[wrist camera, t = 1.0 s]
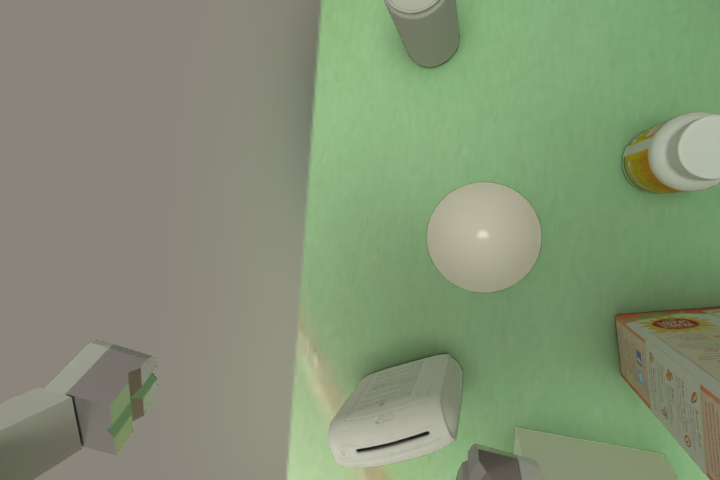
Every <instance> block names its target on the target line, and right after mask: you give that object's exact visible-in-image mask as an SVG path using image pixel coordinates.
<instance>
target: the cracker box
mask: <svg viewBox="0 0 720 480" xmlns="http://www.w3.org/2000/svg"><path fill="white" fill-rule="evenodd" d="M616 329H617V338H618V346H619V357H620V366H621V376H622V377H623V378H624V379H625V380H626V382H627V383H628V384H629V385H630V387H631V388H632V389H633V390H634V391H635V392H636V394H637V395H638V396H639V397H640V398H641V400H642V401H643V402H644V403H645V404H646V405H647V407H648V408H649V409H650V410H651V411H652V412H653V414H654V415H655V416H656V417H657V418H658V419H659V420H660V422H661V423H662V424H663V425H664V426H665V428H666V429H667V430H668V431H669V432H670V433H671V435H672V436H673V437H674V438H675V439H676V440H677V442H678V443H679V444H680V445H681V446H682V448H683V449H684V450H685V451H686V452H687V453H688V455H689V456H690V457H691V458H692V459H693V460H694V462H695V463H696V464H697V465H698V466H699V468H700V469H701V470H702V471H703V472H704V473H705V475H706V476H707V477H708V478H709V479H710V480H720V307H718V308H703V309H688V310H674V311H660V312H646V313H633V314H619V315H616Z"/></svg>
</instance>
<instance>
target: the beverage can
mask: <svg viewBox="0 0 720 480" xmlns="http://www.w3.org/2000/svg"><path fill="white" fill-rule="evenodd" d="M384 2H385V4H386V6H387V8H388V10H389V13H390V15H391V17H392V19H393V21H394V23H395V26H396V28H397V30H398V32H399V34H400V36H401V39H402V41H403V43H404V45H405V47H406V49H407V52H408V54H409V56H410V57H411V58H412V60H413V61H414V62H416V63H417V64H419V65H421V66H424V67H435V66H438V65H440V64H442V63H444V62H446V61H447V60H448V59H449V58H451V57H452V56H453V54H454V53H455V52H456V50H457V47H458V45H459V39H460V34H459V26H458V17H457V9H456V0H384Z"/></svg>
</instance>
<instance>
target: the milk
mask: <svg viewBox="0 0 720 480" xmlns="http://www.w3.org/2000/svg"><path fill="white" fill-rule="evenodd" d="M513 454H514V455H518V456H522V457H526V458H530V459H533V460H536V461H537V463H538V464H539V468H540V473H541V477H542V480H679V479H678V477H677V476H676V474H675V473H674V471H673V469H672V468H671V466H670V465H669V463H668V461H667V460H666V458H665V456H664V455H663V453H658V452H652V451H646V450H641V449H635V448H630V447H624V446H619V445H613V444H607V443H602V442H596V441H591V440H585V439H580V438H574V437H568V436H563V435H557V434H552V433H546V432H541V431H535V430H529V429H524V428H518V427H515V438H514V448H513Z"/></svg>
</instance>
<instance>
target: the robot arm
mask: <svg viewBox="0 0 720 480" xmlns="http://www.w3.org/2000/svg"><path fill="white" fill-rule="evenodd" d="M156 367H157V365H156V357H154V356H151V355H147V354H144V353H141V352H137V351H134V350H131V349H128V348H124V347H121V346H118V345H114V344H111V343H107V342H104V341H100V340H95V341H93V342H91V343H89V344H88V345H87V346H86V347H85V348H84V349H83V350H82V351H81V352H80V353H79V354H78V355H77V356H76V357H75V358H74V359H73V360H72V361H71V362H70V363H69V364H68V365H67V366H66V367H65V368H64V369H63V370H62V371H61V372H60V373H59V374H58V375H57V376H56V377H55V378H54V379H53V380H52V381H51V382H50V383H49V384H48V385H47V386H46V387H45V388H44V389H42V388H35V389H33V390H31V391H28V392H26V393H24V394H21V395H19V396H17V397H14V398H12V399H9V400H7V401H4V402H2V403H0V480H34V479H35V478H37V477H38V476H40V475H41V474H43V473H44V472H46V471H48V470H49V469H51V468H52V467H54V466H55V465H57V464H59V463H60V462H62V461H63V460H65V459H66V458H68V457H70V456H71V455H73V454H74V453H76V452H77V451H79V450H81V449H82V447H87V448H91V449H94V450H98V451H102V452H106V453H110V454H114V455H117V454H118V452H119V451H120V449H121V448H122V447H123V445H124V443H125V442H126V441H127V439H128V438H129V437H130V435H131V434H132V432H133V421H134V420H136V419H138V418H140V417H142V416H144V415H145V413H146V412H147V410H148V409H149V407H150V406H151V404H152V402H153V399H154V397H155V395H156V391H157V386H158V384H157V377H156V376H155V375H154V374H153V371H154V369H155V368H156ZM456 480H542V477H541V473H540V468H539V464H538V463H537V461H536V460H533V459H530V458H526V457H522V456H518V455H514V454H513V453H509V452H505V451H502V450H498V449H494V448H490V447H486V446H482V445H478V444H474V445H472V446H471V448H470V449H469V451H468V460H467V461H465V462H463V463H462V464H461V466H460V468H459V470H458V474H457V478H456Z"/></svg>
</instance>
